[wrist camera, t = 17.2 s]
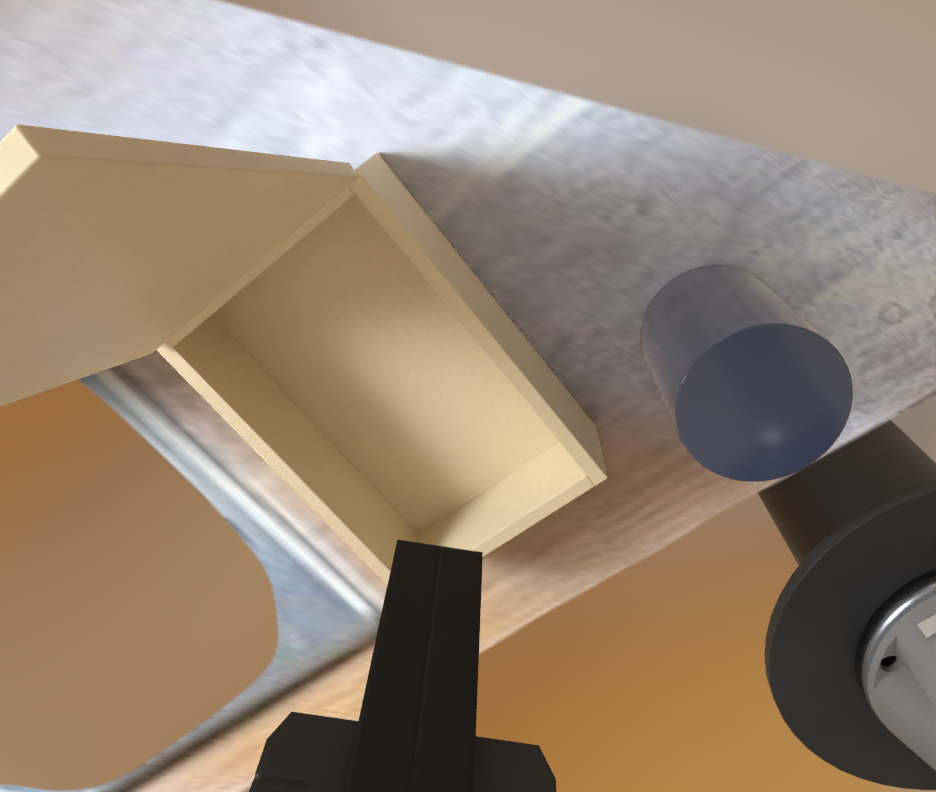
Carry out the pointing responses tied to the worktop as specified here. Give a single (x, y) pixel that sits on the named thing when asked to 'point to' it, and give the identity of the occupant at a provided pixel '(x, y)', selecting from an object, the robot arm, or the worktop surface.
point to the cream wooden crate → (389, 382)
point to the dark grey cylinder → (744, 375)
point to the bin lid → (130, 242)
